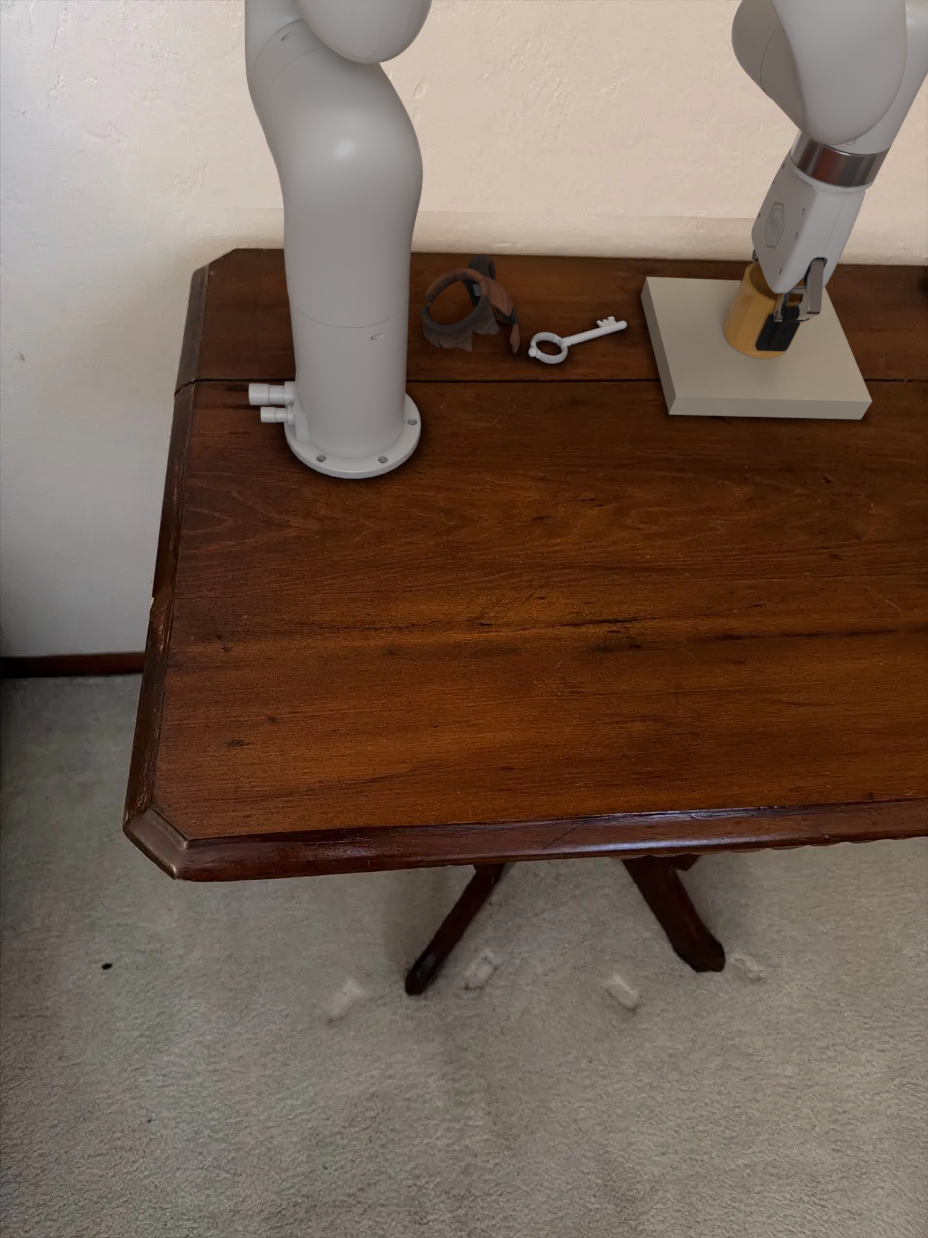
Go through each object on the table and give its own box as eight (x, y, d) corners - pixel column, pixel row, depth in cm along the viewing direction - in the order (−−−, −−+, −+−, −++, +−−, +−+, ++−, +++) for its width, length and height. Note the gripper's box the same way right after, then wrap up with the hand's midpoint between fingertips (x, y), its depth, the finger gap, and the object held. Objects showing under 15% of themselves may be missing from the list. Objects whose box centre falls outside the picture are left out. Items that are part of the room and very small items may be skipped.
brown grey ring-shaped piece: (524, 377, 89) (494, 328, 82) (440, 391, 93) (404, 345, 86) (532, 278, 93) (504, 223, 85) (450, 295, 96) (417, 244, 89)
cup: (730, 357, 89) (753, 303, 83) (716, 311, 92) (737, 257, 87) (797, 359, 89) (824, 306, 84) (780, 313, 93) (806, 259, 87)
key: (518, 344, 91) (539, 370, 89) (519, 336, 90) (540, 362, 88) (614, 315, 94) (636, 339, 93) (616, 308, 94) (638, 332, 92)
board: (668, 414, 87) (676, 395, 85) (640, 295, 97) (646, 276, 95) (860, 419, 89) (872, 401, 87) (814, 302, 99) (823, 283, 97)
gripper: (771, 94, 79) (708, 266, 94) (823, 211, 69) (744, 382, 84) (851, 98, 79) (776, 269, 94) (913, 215, 70) (819, 384, 85)
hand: (761, 321), depth 89 cm, fingers closed on cup, 7 cm apart
